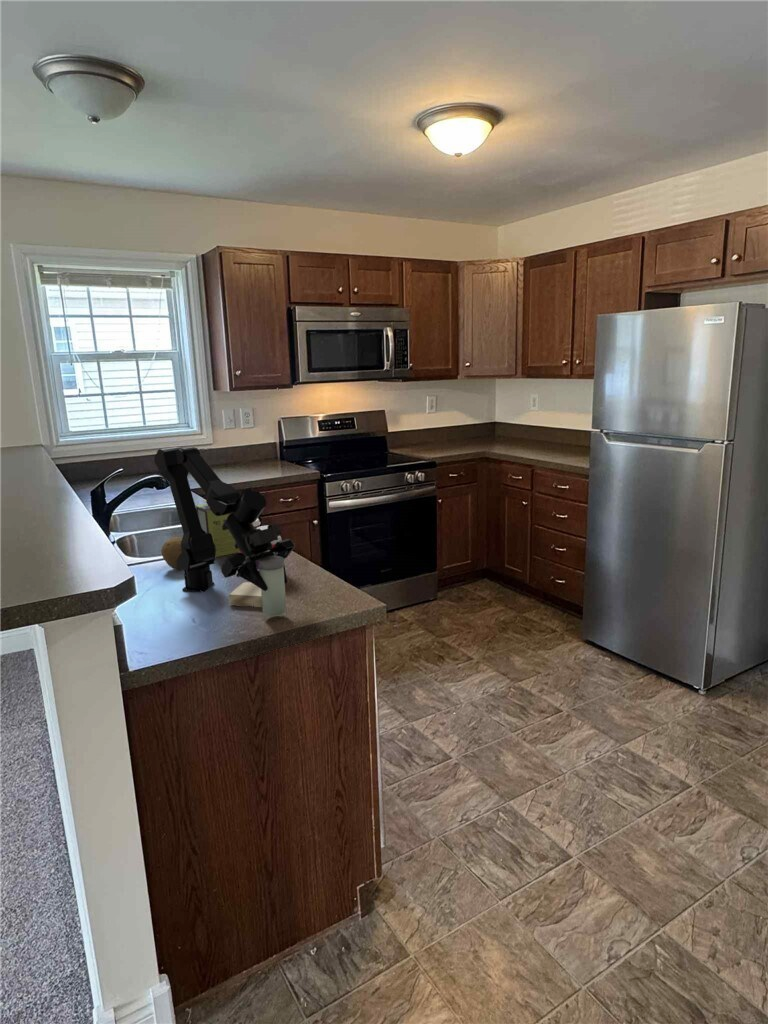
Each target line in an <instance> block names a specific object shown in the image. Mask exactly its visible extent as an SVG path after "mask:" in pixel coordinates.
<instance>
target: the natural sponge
mask: <svg viewBox="0 0 768 1024" xmlns="http://www.w3.org/2000/svg"><path fill="white" fill-rule="evenodd" d="M182 538H183V537H180V536H173V537H170V538H169V539H167V540H166V541H165V542H164V543H163V544H162V547H161V553H160V554H161V556H162V558H163V560H164V561H165V562H166V564H167V566H169V567H170V568H172V569H173V570H177V571H182V570H181V569H179V568H178V565H177V559H178V558H179V556H180V554H181V553H182V550H181V541H182Z"/></svg>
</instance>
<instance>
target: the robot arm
mask: <svg viewBox="0 0 768 1024" xmlns="http://www.w3.org/2000/svg"><path fill="white" fill-rule="evenodd" d="M153 456H154V457H153V458H154V459H153V461H154V463H155V466H156V468H157V470H158V473H159V475H161V476H162V477H163V478H164V479H165V480H166V481H167V482H168V484H169V487H170V491H171V494H172V497H173V501H174V505H175V509H176V512H177V515H178V519H179V522H180V525H181V528H182V533H183V536H182V537H181V538H182V541H181V550H182V553H181V554H180V556H179V558H178V559H177V565H178V568H179V569H181V570H180V571H183V576H184V585H185V587H183V588H182V591H183V592H197V593H198V592H200V593H204V592H206V591H207V590H208V589H209V588H211V587H212V586H214V585H215V582H214V581H213V573H212V572H213V571H212V570H211V567H210V566H211V565H215V560H216V557H215V555H216V548H215V547H216V546H215V544H214V542H213V538H212V535H211V533H206V532H205V531H204V530H203V529H202V527H201V524H200V520H199V517H198V513H197V510H196V506H197V505H196V504H195V500H194V497H193V493H192V490H191V486H190V483H189V479H188V476H189V474H190V476H192V478H193V479H194V481H195V482H196V483H197V484H198V486H199V487H200V488H201V489H202V490H203V492H204V494H205V495H206V497H205V498H206V501H205V502H206V503H205V504H208V506H209V508H210V510H211V511H212V512H213V514H214V515H216V516H222V515H226V514H230V515H229V516H228V517H227V519H224V520H223V521H224V522H223V525H222V529H223V530H227V529H228V530H229V532H230V533H231V535H232V537H233V538H234V540H235V542H236V544H235V548H236V549H239V548H240V550H241V552H242V553H240V552H238V553H234V554H230V555H229V556H228V555H227V557H226V559H225V560H224V562H223V564H222V565H221V568H220V569H221V570H220V571H221V574H222V575H223V577H224V578H225V579H227V578H230V577H233V576H235V575H236V578H242V579H244V580H246V582H251V583H253V584H254V585H256V586H257V587H259V588H261V589H262V590H264V591H266V590H267V589H268V588H267V586H266V584H265V582H264V580H263V578H262V577H261V575H260V573H259V572H258V570H257V568H256V562H257V561H258V560H259V559H260V558H263V557H267V556H280V557H283V558H284V560H285V559H287V558H288V557H289V555H290V554H291V553H292V552H293V550H294V549H295V548H296V545H295V543H294V542H293V540H292V539H290V538H286V539H283V540H282V541H279V542H277V543H276V544H275V546H274V547H273V548H272V549H269V550H268V547H270V546H271V542H272V541H274V540H278V536H281V535H282V529H281V528H280V526H279V525H278V524H277V522H275V523H271V524H270V525H269V526H268V529H264V530H261V529H255V527H254V525H253V524H252V523H253V522H255V521H256V520H257V518H258V519H259V516H260V515H261V514H262V512H263V511H264V509H265V508H266V507H267V499H266V497H265V496H264V495H262V494H261V493H260V492H258V491H255V490H252V488H251V487H244V488H243V489H242V490H241V492H239V491H238V490H237V489H236V488H235V487H234V486H233V485H231V484H229V483H226V482H224V481H222V480H221V479H220V477H219V476H218V475H217V474H216V472H215V471H214V470H213V469H212V467H211V466H210V465H209V464H208V462H207V461H206V460H205V459H204V458H203V456H202V455H201V453H200V450H199V448H198V447H196V446H195V447H194V446H191V447H189V446H188V447H183V446H174V447H173V446H172V447H168V448H167V447H166V448H159V449H158V450H157V451H156V453H155V454H154V455H153ZM283 567H284V582H285V585H287V583H288V577H287V573H286V566H285V564H284V566H283Z"/></svg>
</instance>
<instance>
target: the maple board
mask: <svg viewBox="0 0 768 1024" xmlns="http://www.w3.org/2000/svg"><path fill="white" fill-rule="evenodd" d="M228 596H229V597H228V599H229V600H228V601H229V606H232V605H236V607H247V606H252V607H251V608H262V595H261V588H259V587H257V586H256V585H254V584H253V583H251V582H249V581H244V582H243V583H241V584H240V585H239V586H237V587H236V588H235V589H233V591H232V592H230V593H229V594H228ZM253 606H254V607H253Z"/></svg>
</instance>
